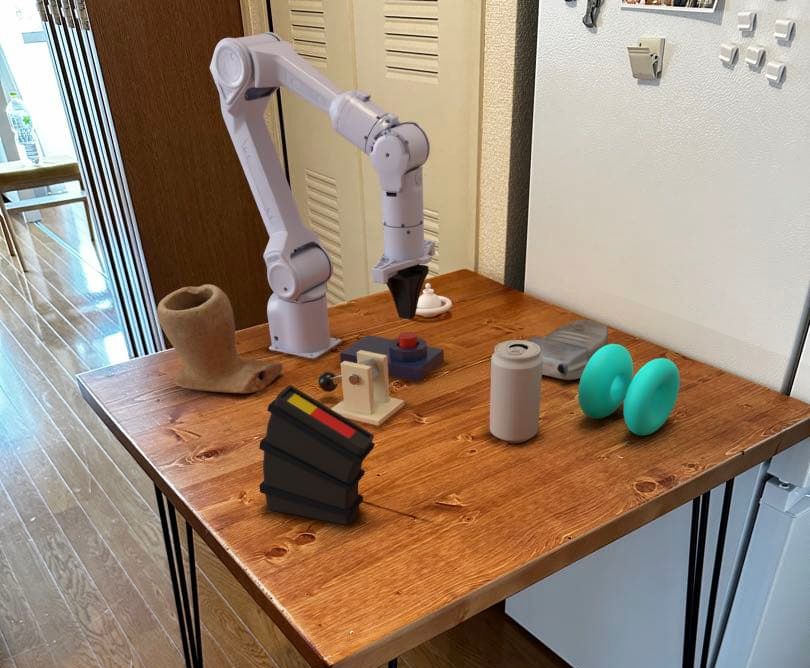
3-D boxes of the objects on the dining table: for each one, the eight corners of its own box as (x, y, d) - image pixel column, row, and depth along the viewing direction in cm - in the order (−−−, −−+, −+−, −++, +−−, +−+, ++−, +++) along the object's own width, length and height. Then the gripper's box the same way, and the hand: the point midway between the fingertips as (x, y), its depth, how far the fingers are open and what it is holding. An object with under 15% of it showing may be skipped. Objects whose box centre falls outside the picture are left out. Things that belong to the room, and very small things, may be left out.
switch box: (330, 415, 112) (324, 363, 108) (357, 395, 117) (353, 345, 113) (378, 427, 109) (375, 374, 104) (404, 406, 114) (402, 354, 109)
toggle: (319, 396, 114) (311, 378, 113) (331, 388, 116) (322, 371, 115) (371, 383, 108) (362, 363, 107) (382, 375, 110) (374, 356, 109)
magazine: (254, 478, 96) (288, 381, 86) (348, 535, 96) (393, 444, 86) (238, 495, 94) (271, 396, 84) (334, 553, 93) (379, 461, 83)
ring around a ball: (443, 325, 138) (458, 308, 144) (442, 292, 134) (457, 277, 140) (400, 322, 140) (416, 306, 146) (398, 289, 137) (414, 275, 143)
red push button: (395, 347, 122) (394, 336, 121) (404, 341, 124) (404, 330, 123) (411, 351, 121) (411, 339, 119) (420, 344, 122) (420, 333, 121)
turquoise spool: (613, 399, 113) (621, 331, 107) (677, 422, 107) (689, 351, 101) (570, 425, 107) (577, 355, 101) (635, 450, 101) (646, 377, 96)
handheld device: (626, 342, 129) (629, 314, 126) (572, 390, 116) (575, 360, 113) (571, 330, 134) (573, 303, 131) (513, 376, 121) (515, 347, 118)
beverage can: (542, 425, 108) (548, 340, 101) (532, 448, 103) (537, 360, 96) (495, 419, 109) (498, 335, 102) (484, 442, 105) (485, 355, 98)
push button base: (341, 366, 126) (338, 342, 123) (368, 348, 131) (366, 324, 129) (418, 383, 120) (417, 358, 117) (443, 363, 125) (443, 338, 123)
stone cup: (158, 398, 119) (134, 299, 110) (201, 365, 128) (182, 271, 119) (248, 411, 115) (230, 308, 106) (286, 376, 123) (273, 279, 115)
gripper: (401, 239, 105) (405, 338, 113) (452, 212, 115) (453, 305, 123) (356, 233, 108) (363, 330, 116) (410, 207, 118) (413, 298, 126)
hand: (406, 317), depth 119 cm, fingers closed
